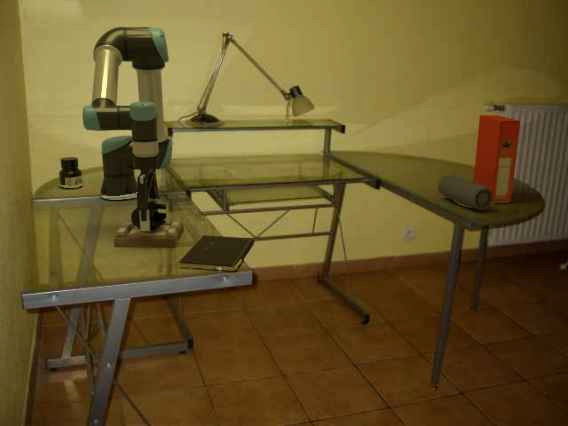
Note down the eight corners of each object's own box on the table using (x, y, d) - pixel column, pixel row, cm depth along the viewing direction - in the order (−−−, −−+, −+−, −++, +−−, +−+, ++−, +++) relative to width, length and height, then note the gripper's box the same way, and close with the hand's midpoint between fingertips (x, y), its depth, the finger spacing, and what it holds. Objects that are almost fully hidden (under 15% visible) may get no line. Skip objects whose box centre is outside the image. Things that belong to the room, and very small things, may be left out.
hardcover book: (178, 269, 159) (178, 261, 158) (203, 242, 180) (203, 235, 180) (235, 273, 156) (235, 265, 155) (254, 245, 178) (254, 238, 177)
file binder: (490, 204, 224) (500, 120, 215) (471, 193, 241) (479, 115, 232) (510, 203, 225) (521, 120, 216) (490, 192, 242) (499, 115, 233)
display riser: (128, 229, 189) (127, 218, 188) (183, 230, 189) (183, 218, 188) (114, 246, 174) (113, 233, 173) (174, 247, 174) (174, 234, 173)
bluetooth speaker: (492, 212, 214) (495, 185, 211) (471, 214, 211) (474, 187, 208) (455, 196, 235) (457, 172, 232) (435, 198, 232) (437, 174, 229)
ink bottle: (69, 190, 236) (66, 161, 233) (55, 187, 241) (52, 159, 238) (88, 186, 244) (85, 157, 241) (74, 183, 249) (71, 155, 245)
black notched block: (146, 220, 186) (145, 199, 184) (167, 221, 184) (166, 201, 182) (131, 229, 176) (129, 208, 174) (152, 231, 175) (151, 210, 173)
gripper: (142, 147, 185) (146, 213, 191) (122, 162, 163) (127, 236, 169) (166, 147, 185) (169, 213, 191) (149, 162, 163) (153, 237, 169)
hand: (149, 224), depth 180 cm, fingers closed on black notched block, 11 cm apart
